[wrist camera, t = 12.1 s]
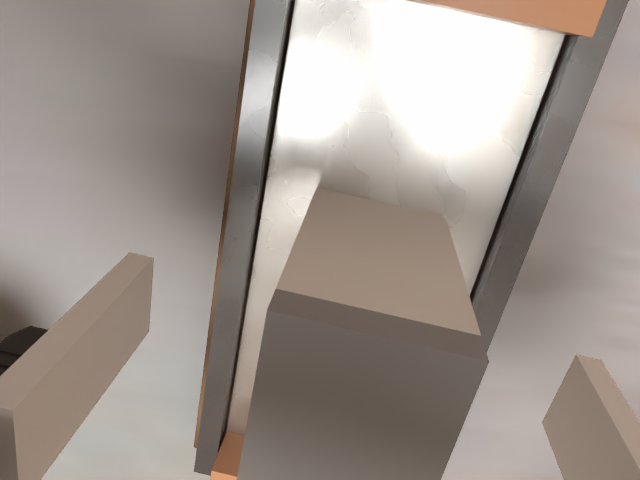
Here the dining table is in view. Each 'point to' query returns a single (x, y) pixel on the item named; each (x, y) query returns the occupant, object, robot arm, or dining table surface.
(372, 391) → the din module
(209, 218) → the dining table surface
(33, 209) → the dining table surface
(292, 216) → the rail board
